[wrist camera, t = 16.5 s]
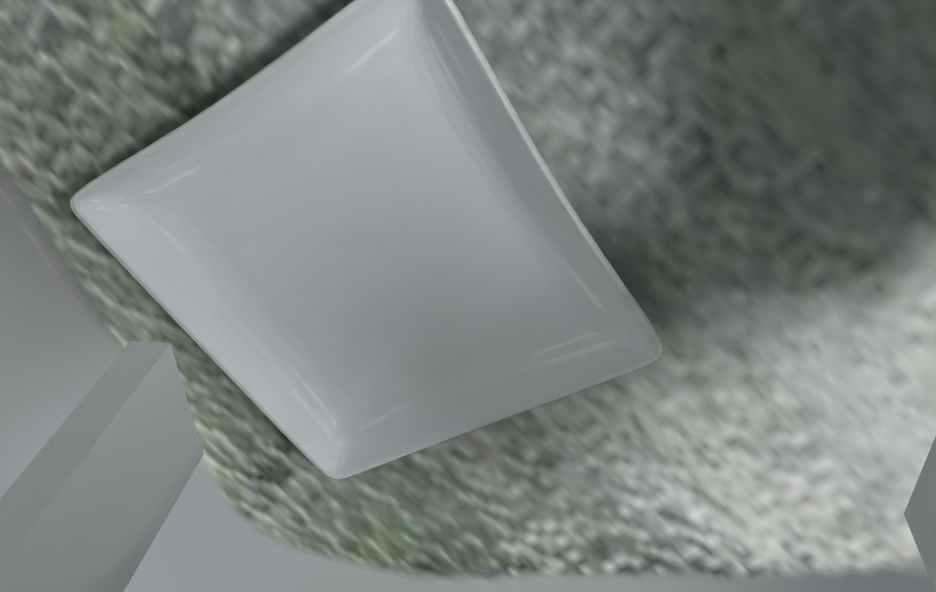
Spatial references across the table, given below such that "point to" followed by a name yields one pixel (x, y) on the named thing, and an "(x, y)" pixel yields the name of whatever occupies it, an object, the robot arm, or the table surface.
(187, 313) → the square plate
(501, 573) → the table surface
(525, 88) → the table surface
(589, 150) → the table surface
